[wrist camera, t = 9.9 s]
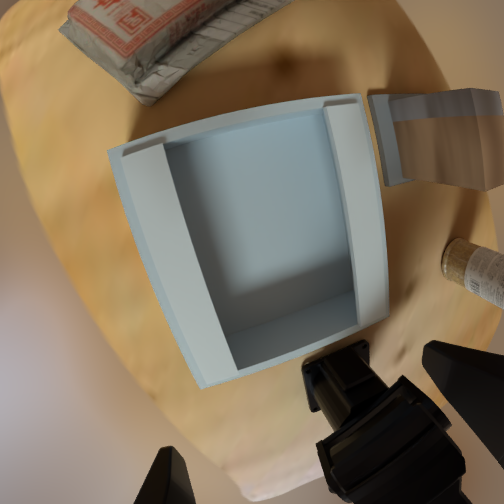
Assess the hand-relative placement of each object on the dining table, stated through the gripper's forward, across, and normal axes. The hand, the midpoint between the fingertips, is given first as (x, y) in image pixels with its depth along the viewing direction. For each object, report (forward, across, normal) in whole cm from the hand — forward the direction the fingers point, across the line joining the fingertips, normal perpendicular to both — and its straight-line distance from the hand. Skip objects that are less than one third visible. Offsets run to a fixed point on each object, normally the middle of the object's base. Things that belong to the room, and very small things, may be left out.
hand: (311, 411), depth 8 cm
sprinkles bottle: (+13, -21, +6) cm, 25 cm away
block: (+12, -16, -6) cm, 21 cm away
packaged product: (+13, -3, -20) cm, 24 cm away
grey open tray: (+12, -2, -2) cm, 13 cm away
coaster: (+12, -16, -6) cm, 21 cm away
